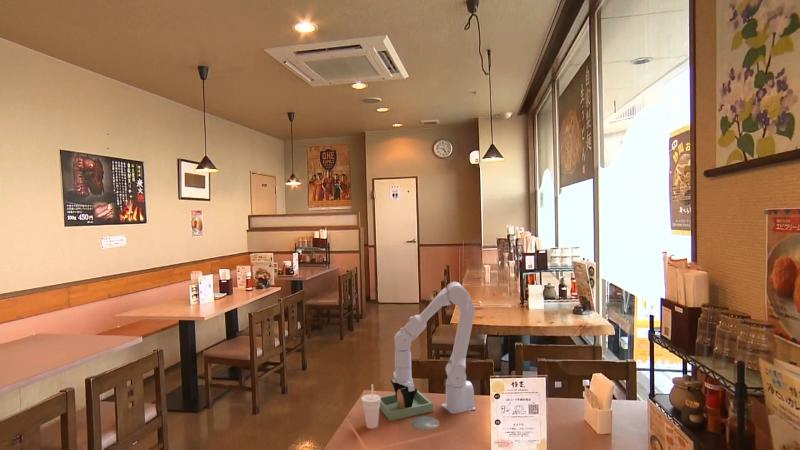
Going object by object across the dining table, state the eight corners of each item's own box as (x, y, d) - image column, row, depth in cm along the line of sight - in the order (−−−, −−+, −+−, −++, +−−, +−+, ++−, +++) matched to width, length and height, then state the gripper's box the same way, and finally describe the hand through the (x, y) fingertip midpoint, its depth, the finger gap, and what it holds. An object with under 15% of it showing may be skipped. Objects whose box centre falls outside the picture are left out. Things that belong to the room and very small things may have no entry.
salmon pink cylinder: (407, 404, 155) (407, 387, 155) (413, 409, 151) (412, 392, 151) (395, 406, 154) (394, 389, 153) (400, 412, 149) (400, 395, 149)
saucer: (431, 416, 147) (431, 414, 147) (444, 428, 139) (444, 426, 139) (407, 421, 143) (407, 419, 143) (418, 434, 135) (418, 432, 135)
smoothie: (379, 432, 137) (377, 388, 136) (359, 431, 138) (358, 387, 138) (384, 423, 143) (382, 381, 143) (365, 422, 144) (363, 380, 144)
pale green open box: (417, 398, 161) (417, 389, 161) (432, 412, 149) (432, 403, 149) (376, 406, 155) (376, 397, 155) (389, 422, 143) (389, 412, 143)
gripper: (385, 361, 157) (386, 398, 157) (400, 374, 144) (401, 415, 144) (403, 358, 160) (404, 394, 160) (419, 371, 146) (420, 410, 147)
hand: (404, 404), depth 152 cm, fingers open, 7 cm apart
